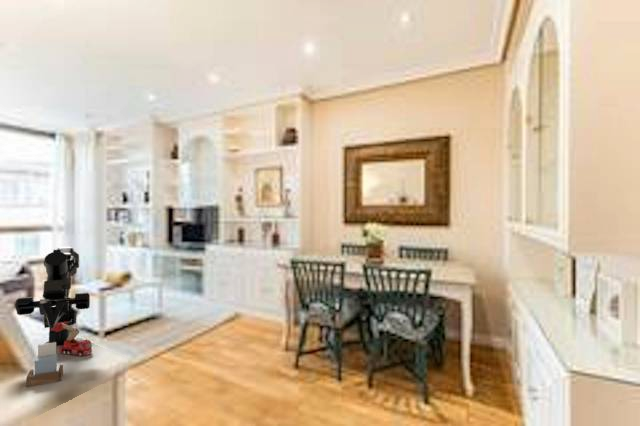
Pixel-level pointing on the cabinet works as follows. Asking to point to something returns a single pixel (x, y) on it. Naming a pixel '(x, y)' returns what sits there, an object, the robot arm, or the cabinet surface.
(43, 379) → the dock
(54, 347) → the block on wooden base
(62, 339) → the robot arm
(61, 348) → the toy fire truck
